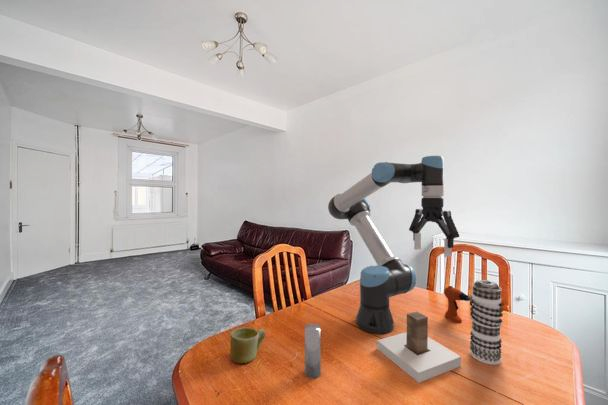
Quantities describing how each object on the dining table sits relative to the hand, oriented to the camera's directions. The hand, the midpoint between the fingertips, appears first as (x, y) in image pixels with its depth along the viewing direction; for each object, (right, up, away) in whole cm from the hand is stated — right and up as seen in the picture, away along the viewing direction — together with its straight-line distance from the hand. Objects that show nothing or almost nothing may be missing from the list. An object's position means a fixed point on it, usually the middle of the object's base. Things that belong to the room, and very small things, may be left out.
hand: (431, 252), depth 99 cm
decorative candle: (+12, -32, -13) cm, 37 cm away
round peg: (-46, -33, -20) cm, 60 cm away
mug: (-68, -33, -11) cm, 76 cm away
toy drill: (+16, -32, +9) cm, 37 cm away
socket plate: (-11, -32, -13) cm, 36 cm away
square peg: (-11, -32, -13) cm, 36 cm away
